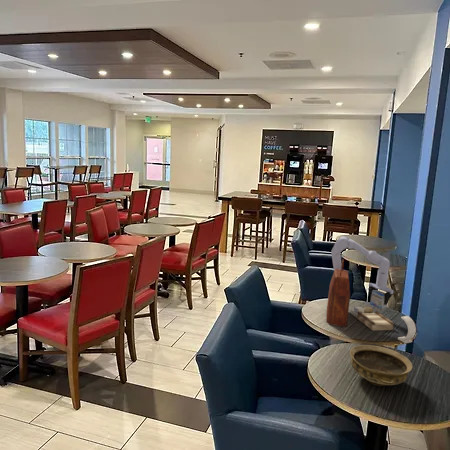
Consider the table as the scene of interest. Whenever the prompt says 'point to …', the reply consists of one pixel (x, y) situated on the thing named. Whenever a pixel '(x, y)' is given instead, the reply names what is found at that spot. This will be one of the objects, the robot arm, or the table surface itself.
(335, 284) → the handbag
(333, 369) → the table surface
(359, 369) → the ceramic bowl
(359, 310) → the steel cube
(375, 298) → the medicine box
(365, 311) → the bronze cube
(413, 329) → the headphone stand
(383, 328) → the sweep station
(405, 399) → the table surface
